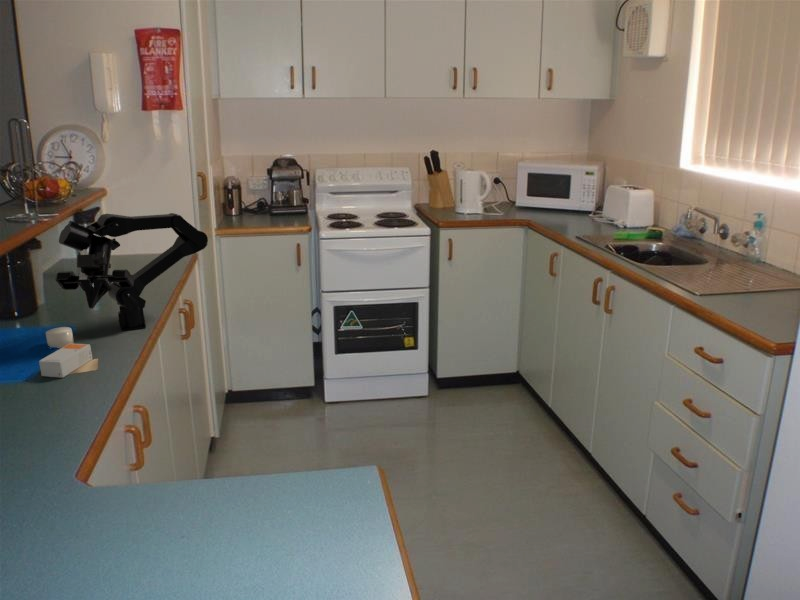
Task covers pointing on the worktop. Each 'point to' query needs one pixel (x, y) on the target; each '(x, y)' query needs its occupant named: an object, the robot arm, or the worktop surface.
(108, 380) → the worktop surface
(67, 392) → the worktop surface
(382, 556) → the worktop surface
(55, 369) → the skincare box
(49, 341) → the beige rounded piece
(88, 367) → the smooth tan tapered shape
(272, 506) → the worktop surface
